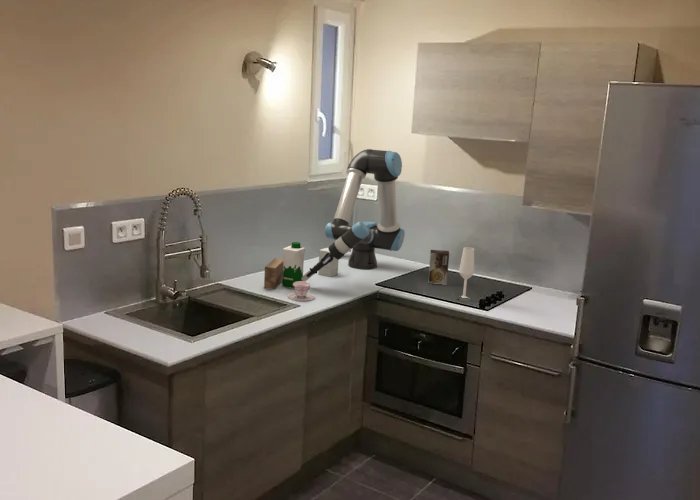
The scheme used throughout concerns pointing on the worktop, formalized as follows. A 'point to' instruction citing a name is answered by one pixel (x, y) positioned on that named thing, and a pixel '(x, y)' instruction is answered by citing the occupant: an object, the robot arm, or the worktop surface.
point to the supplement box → (331, 267)
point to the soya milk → (292, 264)
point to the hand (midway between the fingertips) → (302, 280)
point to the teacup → (301, 291)
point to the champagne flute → (467, 266)
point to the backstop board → (273, 274)
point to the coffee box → (438, 267)
